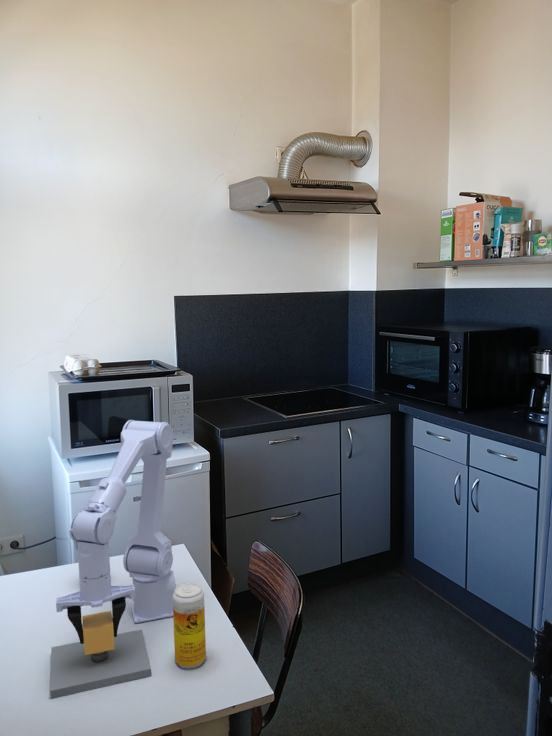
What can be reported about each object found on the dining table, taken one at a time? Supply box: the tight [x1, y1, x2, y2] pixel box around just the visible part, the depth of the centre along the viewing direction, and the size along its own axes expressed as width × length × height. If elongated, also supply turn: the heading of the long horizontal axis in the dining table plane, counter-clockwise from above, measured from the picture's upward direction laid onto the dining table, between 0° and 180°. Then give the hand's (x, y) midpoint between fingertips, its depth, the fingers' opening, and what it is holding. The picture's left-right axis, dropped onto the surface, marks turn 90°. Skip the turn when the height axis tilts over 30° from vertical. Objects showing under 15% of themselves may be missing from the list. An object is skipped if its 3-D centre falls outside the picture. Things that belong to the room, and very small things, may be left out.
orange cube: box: [81, 610, 115, 655], centre depth 117 cm, size 6×6×5 cm
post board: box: [49, 629, 152, 699], centre depth 117 cm, size 18×14×5 cm
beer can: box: [172, 582, 207, 670], centre depth 117 cm, size 6×6×15 cm
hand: (98, 637), depth 117 cm, fingers closed on orange cube, 5 cm apart
